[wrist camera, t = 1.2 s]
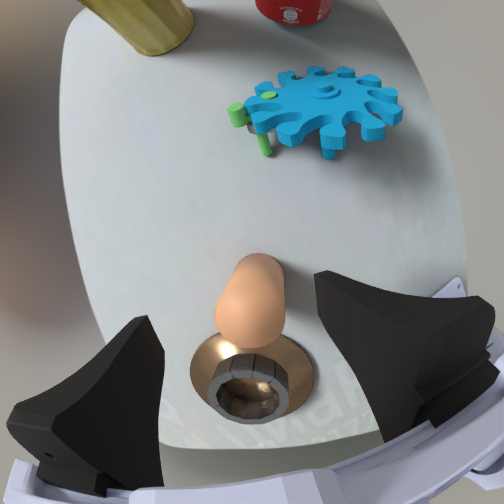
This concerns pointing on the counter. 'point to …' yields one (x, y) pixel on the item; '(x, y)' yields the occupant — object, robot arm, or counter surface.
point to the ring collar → (252, 378)
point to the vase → (146, 22)
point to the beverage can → (295, 11)
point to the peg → (252, 303)
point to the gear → (318, 109)
